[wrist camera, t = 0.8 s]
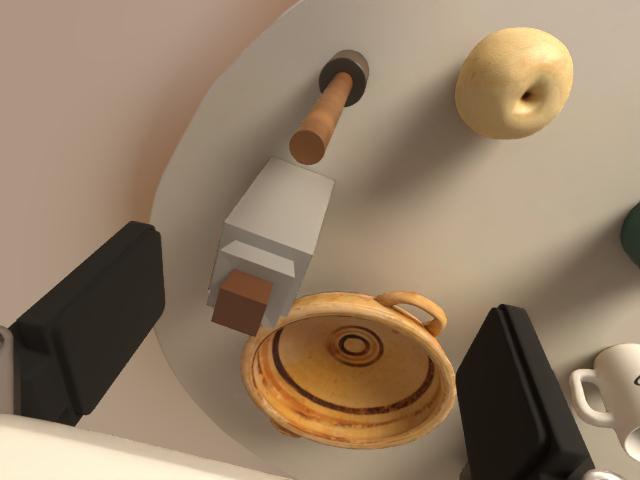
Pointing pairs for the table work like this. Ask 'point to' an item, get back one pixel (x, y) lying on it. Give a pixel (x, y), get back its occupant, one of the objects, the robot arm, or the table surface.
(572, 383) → the mug
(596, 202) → the table surface
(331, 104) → the brush
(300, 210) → the perfume bottle
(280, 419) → the ceramic bowl
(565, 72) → the apple
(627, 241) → the teal hollow cylinder
